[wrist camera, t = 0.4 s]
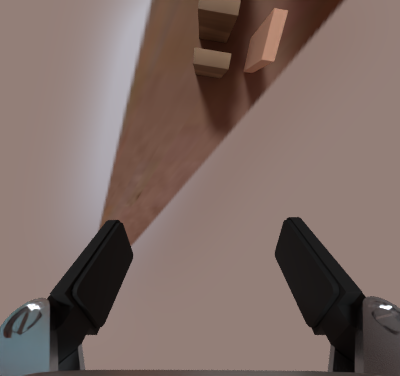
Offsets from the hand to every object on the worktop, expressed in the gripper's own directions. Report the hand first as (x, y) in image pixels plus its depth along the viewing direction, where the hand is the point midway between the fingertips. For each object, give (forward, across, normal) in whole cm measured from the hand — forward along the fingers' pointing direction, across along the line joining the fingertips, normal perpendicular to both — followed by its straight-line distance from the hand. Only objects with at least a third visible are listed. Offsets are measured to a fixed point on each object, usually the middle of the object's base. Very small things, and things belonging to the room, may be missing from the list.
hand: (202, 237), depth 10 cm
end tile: (+29, -9, -14) cm, 33 cm away
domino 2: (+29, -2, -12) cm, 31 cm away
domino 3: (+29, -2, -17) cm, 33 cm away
